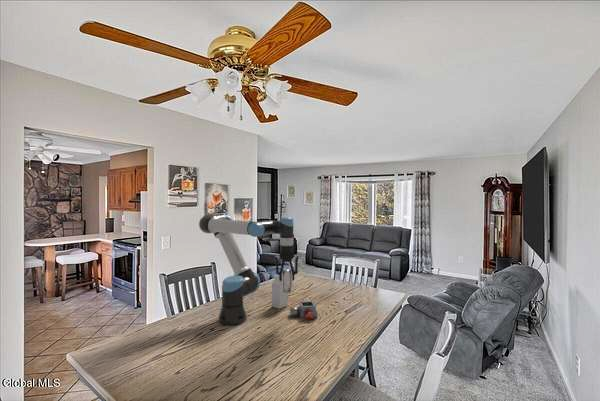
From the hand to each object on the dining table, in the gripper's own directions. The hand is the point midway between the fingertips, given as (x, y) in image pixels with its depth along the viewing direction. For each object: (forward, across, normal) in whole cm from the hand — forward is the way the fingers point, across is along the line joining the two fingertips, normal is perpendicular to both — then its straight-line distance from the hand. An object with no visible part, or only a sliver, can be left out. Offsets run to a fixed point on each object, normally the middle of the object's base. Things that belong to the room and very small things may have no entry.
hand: (286, 286), depth 161 cm
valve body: (+19, +10, +5) cm, 22 cm away
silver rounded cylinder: (+3, 0, 0) cm, 3 cm away
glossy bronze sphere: (+19, +16, +14) cm, 29 cm away
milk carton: (+19, -3, +22) cm, 29 cm away
